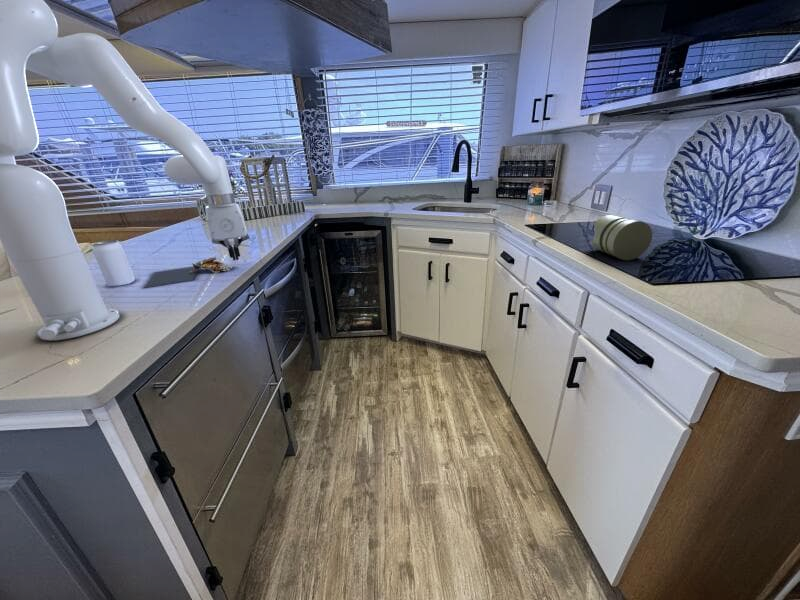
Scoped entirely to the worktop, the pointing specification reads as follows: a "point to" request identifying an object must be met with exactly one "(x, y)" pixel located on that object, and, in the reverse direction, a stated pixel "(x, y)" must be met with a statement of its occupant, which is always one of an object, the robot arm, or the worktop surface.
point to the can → (113, 263)
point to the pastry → (211, 265)
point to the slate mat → (171, 277)
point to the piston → (621, 237)
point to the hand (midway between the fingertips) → (235, 259)
